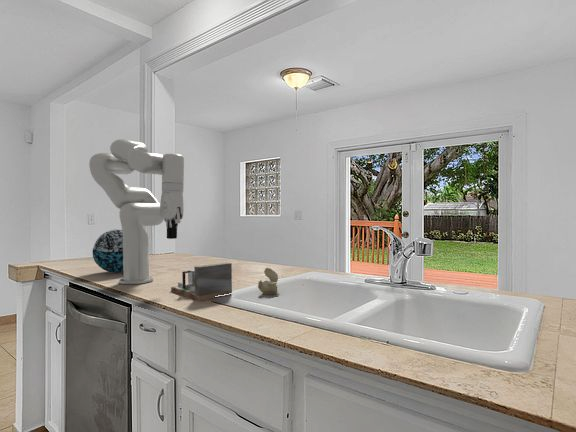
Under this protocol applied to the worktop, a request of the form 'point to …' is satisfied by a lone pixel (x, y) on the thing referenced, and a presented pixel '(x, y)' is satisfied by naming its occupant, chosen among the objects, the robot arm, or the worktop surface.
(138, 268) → the robot arm
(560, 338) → the worktop surface
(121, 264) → the decorative sphere
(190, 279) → the gauge plunger
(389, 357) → the worktop surface
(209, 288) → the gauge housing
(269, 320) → the worktop surface
